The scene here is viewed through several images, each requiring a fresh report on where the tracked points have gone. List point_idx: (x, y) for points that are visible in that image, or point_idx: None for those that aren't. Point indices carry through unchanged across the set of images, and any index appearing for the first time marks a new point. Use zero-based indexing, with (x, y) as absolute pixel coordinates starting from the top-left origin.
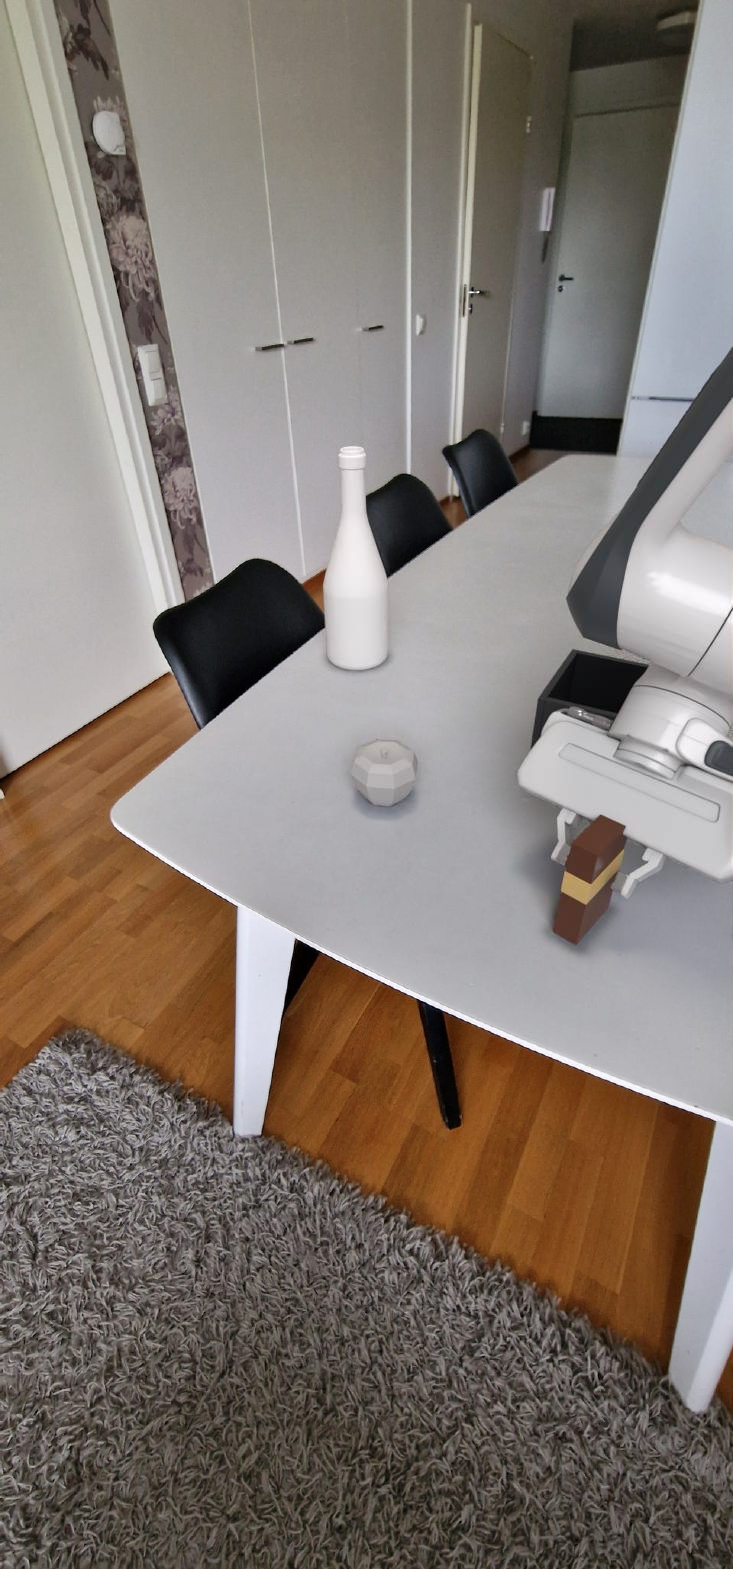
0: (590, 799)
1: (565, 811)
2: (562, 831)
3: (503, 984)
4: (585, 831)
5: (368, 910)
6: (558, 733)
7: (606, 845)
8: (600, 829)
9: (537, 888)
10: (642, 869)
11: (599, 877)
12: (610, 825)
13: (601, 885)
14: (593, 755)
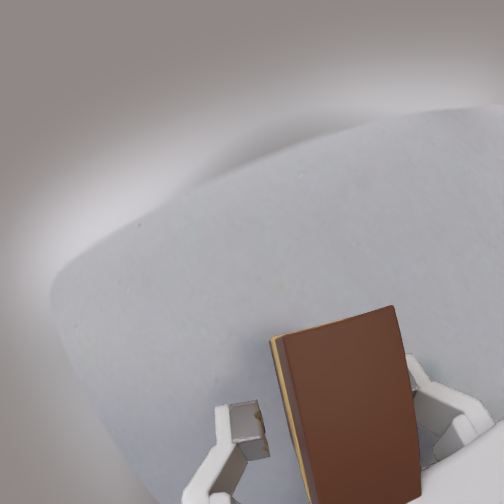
0: (478, 490)
1: (484, 426)
2: (446, 397)
3: (278, 205)
4: (406, 396)
5: (441, 161)
6: None
7: (303, 412)
8: (378, 454)
9: None
10: (211, 472)
11: (283, 384)
12: (366, 495)
13: (285, 403)
14: None
